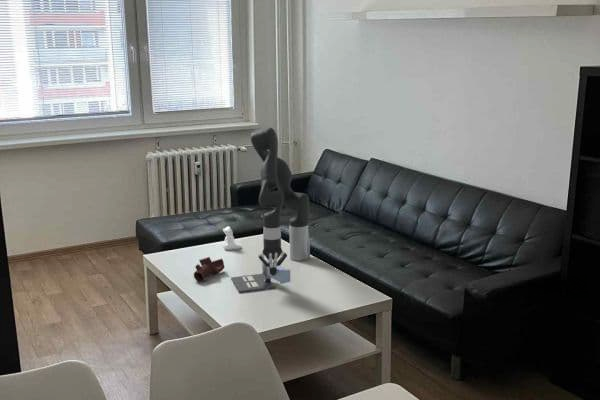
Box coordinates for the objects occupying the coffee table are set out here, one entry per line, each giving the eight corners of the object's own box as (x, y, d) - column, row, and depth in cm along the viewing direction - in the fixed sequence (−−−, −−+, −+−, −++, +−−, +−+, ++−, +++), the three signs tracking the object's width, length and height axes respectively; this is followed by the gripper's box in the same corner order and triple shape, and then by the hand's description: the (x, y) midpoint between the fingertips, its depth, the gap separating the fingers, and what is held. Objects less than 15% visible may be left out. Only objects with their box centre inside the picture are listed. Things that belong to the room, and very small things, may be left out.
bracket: (228, 266, 326) (218, 248, 323) (208, 284, 312) (198, 265, 310) (219, 268, 329) (209, 250, 327) (199, 287, 316) (188, 268, 314)
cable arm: (260, 273, 311) (259, 261, 310) (269, 271, 314) (268, 259, 312) (281, 284, 297) (280, 271, 296) (290, 281, 300) (290, 269, 299)
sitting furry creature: (243, 248, 361) (242, 226, 358) (231, 252, 355) (229, 229, 352) (230, 245, 367) (229, 223, 364) (218, 249, 361) (217, 226, 358)
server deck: (266, 275, 320) (265, 267, 319) (276, 288, 304) (275, 280, 303) (231, 279, 316) (230, 271, 315) (239, 293, 299) (238, 285, 298)
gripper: (285, 233, 300) (286, 271, 304) (255, 235, 298) (256, 273, 302) (289, 237, 293) (289, 276, 297) (258, 240, 290) (259, 279, 294)
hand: (273, 275), depth 299 cm, fingers closed
